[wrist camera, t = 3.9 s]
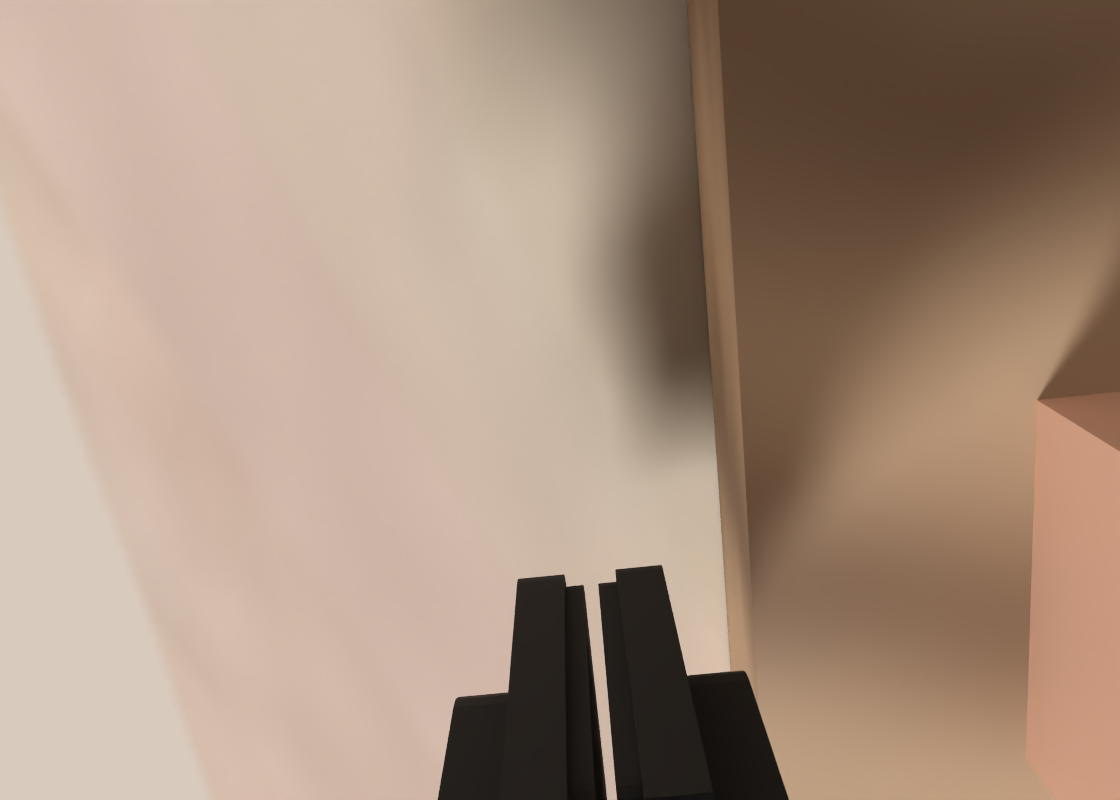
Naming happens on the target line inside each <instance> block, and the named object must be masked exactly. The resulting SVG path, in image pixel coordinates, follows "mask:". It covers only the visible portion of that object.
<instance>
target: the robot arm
mask: <svg viewBox="0 0 1120 800" xmlns="http://www.w3.org/2000/svg"><path fill="white" fill-rule="evenodd" d="M598 585H599V596H600V608H601V619H602V631H603V643H604V654H605V666H606V677H607V689H608V700H609V712H610V723H611V735H612V746H613V758H614V769H615V781H616V792H617V800H789V798H788V795H787V792H786V789H785V786H784V783H783V780H782V777H781V774H780V771H779V768H778V765H777V762H776V759H775V756H774V753H773V750H772V747H771V744H770V741H769V738H768V735H767V732H766V729H765V726H764V723H763V720H762V717H761V714H760V711H759V708H758V705H757V702H756V699H755V696H754V693H753V690H752V687H751V684H750V681H749V678H748V676H747V674H746V672H745V671H732V672H721V673H711V674H700V675H690V676H687V674H686V669H685V665H684V661H683V656H682V652H681V647H680V643H679V639H678V634H677V630H676V625H675V621H674V617H673V612H672V608H671V603H670V599H669V595H668V590H667V586H666V581H665V577H664V572H663V568H662V565H658V566H648V567H637V568H627V569H617V570H616V582H611V583H601V584H598ZM438 800H607V795H606V785H605V775H604V766H603V757H602V748H601V739H600V730H599V720H598V711H597V702H596V693H595V684H594V674H593V665H592V656H591V647H590V638H589V628H588V619H587V610H586V601H585V592H584V585H580V586H570V587H566V582H565V576H564V575H555V576H544V577H534V578H524V579H518V582H517V593H516V605H515V617H514V630H513V642H512V654H511V667H510V679H509V691H508V693H498V694H487V695H477V696H466V697H458V698H457V699H456V700H455V704H454V708H453V713H452V719H451V725H450V731H449V737H448V743H447V749H446V755H445V761H444V766H443V772H442V778H441V784H440V790H439V796H438Z"/></svg>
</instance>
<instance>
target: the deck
mask: <svg viewBox="0 0 1120 800" xmlns="http://www.w3.org/2000/svg"><path fill="white" fill-rule="evenodd" d="M687 15H688V30H689V45H690V60H691V75H692V90H693V105H694V121H695V136H696V151H697V166H698V181H699V196H700V211H701V226H702V242H703V257H704V272H705V287H706V302H707V317H708V332H709V347H710V363H711V378H712V393H713V408H714V423H715V438H716V453H717V469H718V484H719V499H720V514H721V529H722V544H723V559H724V574H725V590H726V605H727V620H728V635H729V650H730V665H731V672H732V671H745V672H746V674H747V676H748V678H749V681H750V684H751V687H752V690H753V693H754V696H755V699H756V702H757V705H758V708H759V711H760V714H761V717H762V720H763V723H764V726H765V729H766V732H767V735H768V738H769V741H770V744H771V747H772V750H773V753H774V756H775V759H776V762H777V765H778V768H779V771H780V774H781V777H782V780H783V783H784V786H785V789H786V792H787V795H788V798H789V800H1055V798H1054V797H1053V795H1052V794H1051V793H1050V791H1049V790H1048V788H1047V787H1046V786H1045V784H1044V783H1043V781H1042V780H1041V779H1040V777H1039V776H1038V774H1037V773H1036V772H1035V770H1034V769H1033V767H1032V766H1031V765H1030V763H1029V762H1028V760H1027V759H1026V734H1027V702H1028V671H1029V639H1030V607H1031V575H1032V544H1033V512H1034V480H1035V448H1036V416H1037V400H1043V399H1053V398H1063V397H1073V396H1082V395H1092V394H1102V393H1112V392H1120V0H687Z"/></svg>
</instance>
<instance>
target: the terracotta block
mask: <svg viewBox="0 0 1120 800" xmlns="http://www.w3.org/2000/svg"><path fill="white" fill-rule="evenodd" d="M1026 759H1027V760H1028V762H1029V763H1030V765H1031V766H1032V767H1033V769H1034V770H1035V772H1036V773H1037V774H1038V776H1039V777H1040V779H1041V780H1042V781H1043V783H1044V784H1045V786H1046V787H1047V788H1048V790H1049V791H1050V793H1051V794H1052V795H1053V797H1054V798H1055V800H1120V392H1112V393H1102V394H1092V395H1082V396H1073V397H1063V398H1053V399H1043V400H1037V416H1036V448H1035V480H1034V512H1033V544H1032V575H1031V607H1030V639H1029V671H1028V702H1027V734H1026Z"/></svg>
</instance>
